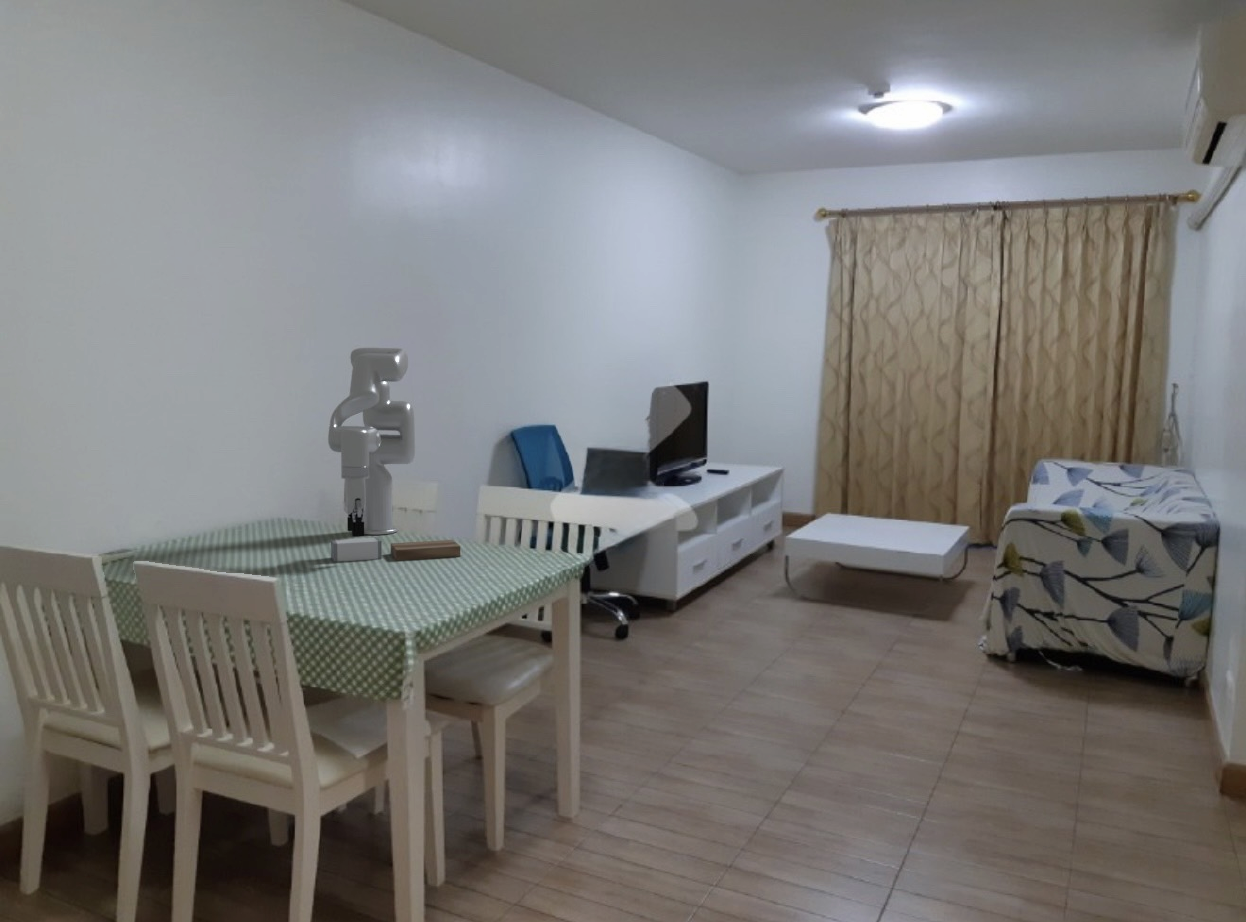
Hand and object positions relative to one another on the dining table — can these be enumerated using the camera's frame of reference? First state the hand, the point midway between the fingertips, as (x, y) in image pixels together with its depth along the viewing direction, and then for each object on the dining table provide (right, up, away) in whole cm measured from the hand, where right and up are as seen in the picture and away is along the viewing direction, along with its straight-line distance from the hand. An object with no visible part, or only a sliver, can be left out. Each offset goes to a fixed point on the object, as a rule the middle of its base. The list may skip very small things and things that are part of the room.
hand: (355, 533), depth 269 cm
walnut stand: (+18, -7, +7) cm, 20 cm away
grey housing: (0, -7, +1) cm, 7 cm away
